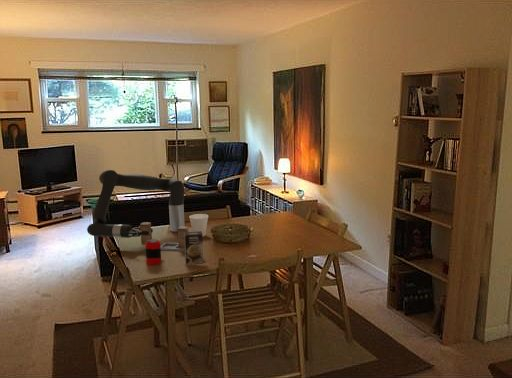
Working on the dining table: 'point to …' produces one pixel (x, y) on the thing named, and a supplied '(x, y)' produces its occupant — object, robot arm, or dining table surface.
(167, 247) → the grey slotted tray
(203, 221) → the cup
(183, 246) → the seated billet
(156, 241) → the soda can
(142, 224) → the block
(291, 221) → the dining table surface
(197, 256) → the coffee box
